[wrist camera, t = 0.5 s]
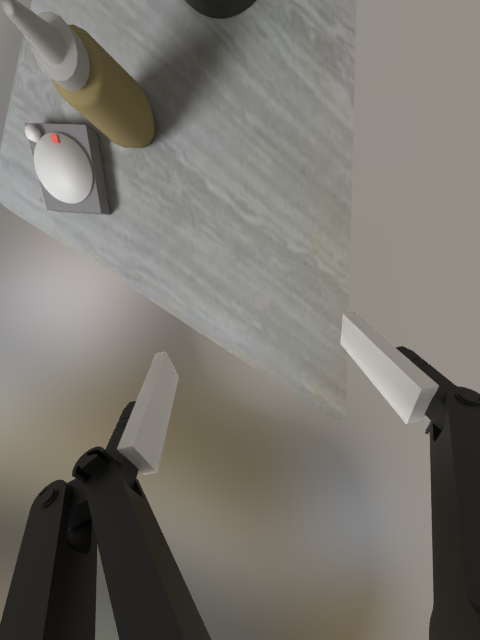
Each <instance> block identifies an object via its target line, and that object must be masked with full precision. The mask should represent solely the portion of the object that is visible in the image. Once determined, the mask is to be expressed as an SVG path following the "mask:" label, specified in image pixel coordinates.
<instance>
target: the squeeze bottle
mask: <svg viewBox="0 0 480 640" xmlns="http://www.w3.org/2000/svg"><path fill="white" fill-rule="evenodd" d="M2 6H3V9H4V11H5V13H6V14H7V15H8V16H9V18H10V19H11V20H12V21H13V22H14V23H15V25H16V26H17V27H18V28H19V29H20V30H21V31H22V33H23V34H24V35H25V36H26V37H27V39H28V40H29V41H30V42H31V46H32V50H33V54H34V57H35V59H36V61H37V63H38V64H39V66H40V68H41V69H42V70H43V71H44V72H45V73H46V74H47V76H48V77H50V78H51V79H52V81H53V83H54V85H55V87H56V89H57V90H58V92H59V94H60V95H61V96H62V97H63V98H64V99H65V100H66V101H67V102H68V103H69V104H70V105H71V106H72V107H74V108H75V109H76V110H77V111H78V112H79V113H80V114H82V115H83V116H84V117H85V118H86V119H87V120H89V121H90V122H91V123H92V124H93V125H94V126H95V127H97V128H98V129H99V130H100V131H101V132H102V133H104V134H105V135H106V136H107V137H108V138H109V139H110V140H112V141H113V142H114V143H116V144H118V145H120V146H122V147H125V148H144V147H146V146H147V145H149V144H150V143H151V141H152V139H153V138H154V132H155V124H154V118H153V114H152V111H151V108H150V104H149V102H148V99H147V97H146V95H145V93H144V90H143V89H142V88H141V87H140V86H139V85H138V83H137V82H136V81H135V80H134V79H133V78H132V77H131V76H130V75H129V74H128V73H127V72H126V71H125V70H124V69H123V68H122V67H121V66H120V65H119V64H118V63H117V62H116V61H115V60H114V59H113V58H112V57H111V56H110V55H109V54H108V53H107V52H106V51H105V50H104V49H103V48H102V47H101V46H100V45H99V44H98V43H97V42H96V41H95V40H94V39H93V38H92V37H91V36H90V35H89V34H88V33H87V32H86V31H85V30H83V29H81V28H79V27H77V26H75V25H67V23H66V22H65V21H64V20H63V19H62V18H61V17H60V16H58V15H56V14H54V13H52V12H44V13H40V14H39V15H36V14H35V13H34V12H32V11H31V10H29V9H28V8H26V7H25V6H23V5H22V4H21V3H19V2H18V1H16V0H2Z"/></svg>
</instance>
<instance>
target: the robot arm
mask: <svg viewBox="0 0 480 640" xmlns="http://www.w3.org/2000/svg"><path fill="white" fill-rule="evenodd" d="M185 1H186V2H187V3H188V4H189V5H190V6H191V7H193V8H194V9H195V10H196V11H198V12H200V13H201V14H203V15H206V16H209V17H213V18H226V17H230V16H233V15H236V14H238V13H240V12H242V11H243V10H245V9H246V8H247V7H249V6H250V5H251V4H252V3H253V2H254V1H255V0H185ZM341 345H342V346H343V347H344V348H345V350H346V351H347V352H348V353H349V355H350V356H351V357H352V358H353V359H354V361H355V362H356V363H357V364H358V366H359V367H360V368H361V369H362V370H363V372H364V373H365V374H366V375H367V377H368V378H369V379H370V380H371V381H372V383H373V384H374V385H375V386H376V388H377V389H378V390H379V391H380V392H381V394H382V395H383V396H384V397H385V399H386V400H387V401H388V402H389V404H390V405H391V406H392V407H393V408H394V410H395V411H396V412H397V413H398V414H399V416H400V417H401V418H402V419H403V421H404V422H405V423H406V424H411V423H416V422H421V421H422V420H423V417H424V416H425V415H426V416H427V417H428V418H429V419H430V420H431V422H430V424H429V426H428V428H427V429H426V432H425V433H426V434H428V433H429V432H430V461H431V462H430V463H431V505H432V546H433V591H434V605H433V611H432V614H431V618H430V626H429V640H480V394H478V393H477V392H475V391H473V390H470V389H467V388H464V387H457V386H456V385H454V384H453V383H452V382H451V381H449V380H448V379H447V378H446V377H444V376H443V375H442V374H441V373H439V372H438V371H437V370H436V369H434V368H433V367H432V366H431V365H428V363H427V362H426V361H424V360H423V359H421V357H419V356H418V355H417V354H416V353H415V352H413V351H411V350H409V349H407V348H405V347H403V346H402V347H397V348H395V347H394V346H393V345H392V344H390V343H389V342H388V341H387V340H386V339H385V338H383V337H382V336H381V335H380V334H379V333H378V332H377V331H375V330H374V329H373V328H372V327H371V326H370V325H368V324H367V323H366V322H365V321H364V320H363V319H362V318H360V317H359V316H358V315H357V314H356V313H355V312H350V313H345V314H343V322H342V333H341ZM178 379H179V376H178V374H177V372H176V370H175V368H174V366H173V364H172V363H171V361H170V359H169V357H168V355H167V353H166V351H165V352H160V353H156V354H155V356H154V359H153V361H152V364H151V366H150V369H149V371H148V373H147V376H146V379H145V381H144V384H143V386H142V389H141V391H140V393H139V396H138V398H137V401H134V402H130V403H129V404H128V405H127V406H126V407H125V409H124V410H123V412H122V414H121V416H120V419H119V421H118V423H117V425H116V428H115V430H114V432H113V434H112V436H111V439H110V441H109V443H108V445H107V447H106V450H104V449H103V448H102V447H95V448H92V449H90V450H88V451H87V452H86V453H85V454H83V455H82V456H81V457H80V458H79V460H78V461H77V462H76V464H75V466H74V469H73V472H72V476H74V477H75V478H76V479H74V480H72V481H70V482H68V483H67V482H65V481H63V480H56V481H54V482H52V483H51V484H49V485H48V486H46V487H45V488H44V489H43V490H42V491H41V492H40V493H39V494H38V496H37V497H36V499H35V500H34V502H33V504H32V506H31V509H30V512H29V517H28V520H27V524H26V528H25V532H24V536H23V539H22V543H21V547H20V551H19V555H18V559H17V563H16V566H15V570H14V574H13V577H12V581H11V586H10V589H9V593H8V597H7V600H6V604H5V608H4V612H3V616H2V620H1V623H0V640H95V612H96V576H97V575H96V574H97V544H98V548H99V552H100V556H101V561H102V565H103V570H104V574H105V579H106V583H107V587H108V592H109V596H110V600H111V605H112V609H113V614H114V618H115V622H116V627H117V631H118V635H119V640H211V638H210V636H209V634H208V632H207V629H206V627H205V625H204V623H203V620H202V618H201V616H200V614H199V612H198V610H197V607H196V605H195V603H194V601H193V599H192V596H191V594H190V592H189V590H188V588H187V586H186V583H185V581H184V579H183V577H182V575H181V572H180V571H179V568H178V566H177V564H176V562H175V560H174V557H173V555H172V553H171V551H170V548H169V546H168V544H167V542H166V540H165V538H164V536H163V533H162V531H161V529H160V527H159V525H158V522H157V520H156V518H155V516H154V514H153V511H152V509H151V507H150V505H149V503H148V501H147V498H146V496H145V494H144V492H143V490H142V488H141V485H140V483H139V481H138V480H137V479H136V477H137V474H138V470H139V471H140V472H141V473H142V474H143V475H145V474H150V473H156V472H158V467H159V463H160V458H161V454H162V450H163V445H164V441H165V436H166V432H167V427H168V423H169V418H170V414H171V410H172V405H173V400H174V396H175V392H176V387H177V383H178Z"/></svg>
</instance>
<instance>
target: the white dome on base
mask: <svg viewBox="0 0 480 640" xmlns="http://www.w3.org/2000/svg"><path fill="white" fill-rule="evenodd" d="M25 134H26V136H27V137H28V139H29V142H30V146H31V150H32V153H33V157H34V165H35V169H36V172H37V175H38V177H39V180H40V184H41V188H42V191H43V195H44V199H45V203H46V207H47V210H51V211H58V212H74V213H91V214H108V215H110V209H109V203H108V196H107V190H106V184H105V178H104V171H103V165H102V159H101V153H100V147H99V140H98V134H97V132H96V131H94V130H93V129H91V128H90V127H88V126H87V125H77V124H46V123H25Z"/></svg>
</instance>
